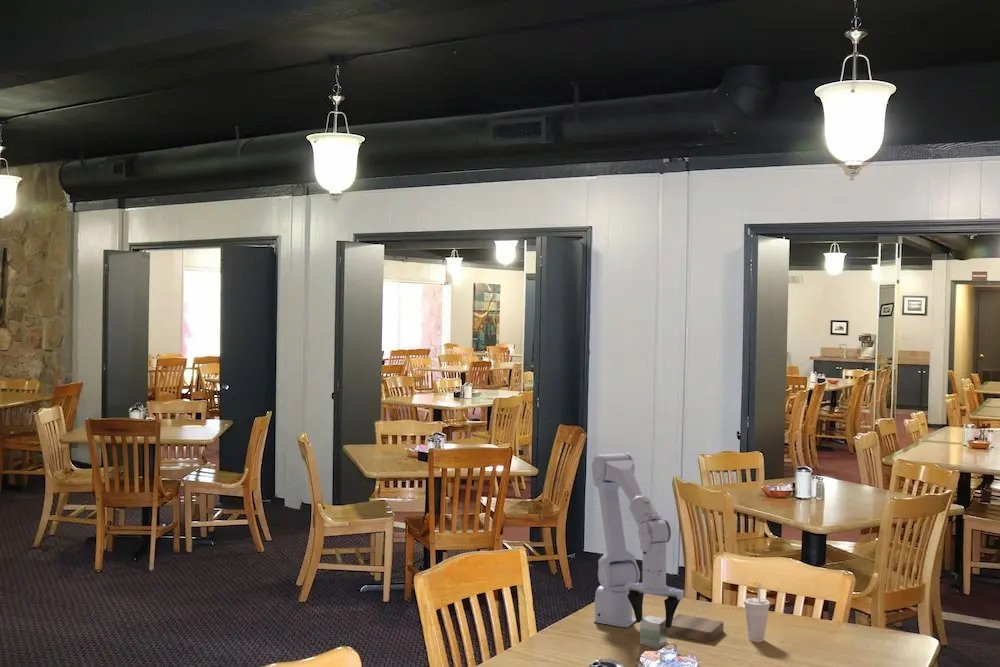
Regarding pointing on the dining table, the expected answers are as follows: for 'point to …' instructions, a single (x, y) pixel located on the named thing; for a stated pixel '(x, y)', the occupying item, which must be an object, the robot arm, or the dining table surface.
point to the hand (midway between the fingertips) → (653, 624)
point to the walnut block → (695, 628)
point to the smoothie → (756, 617)
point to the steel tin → (653, 631)
